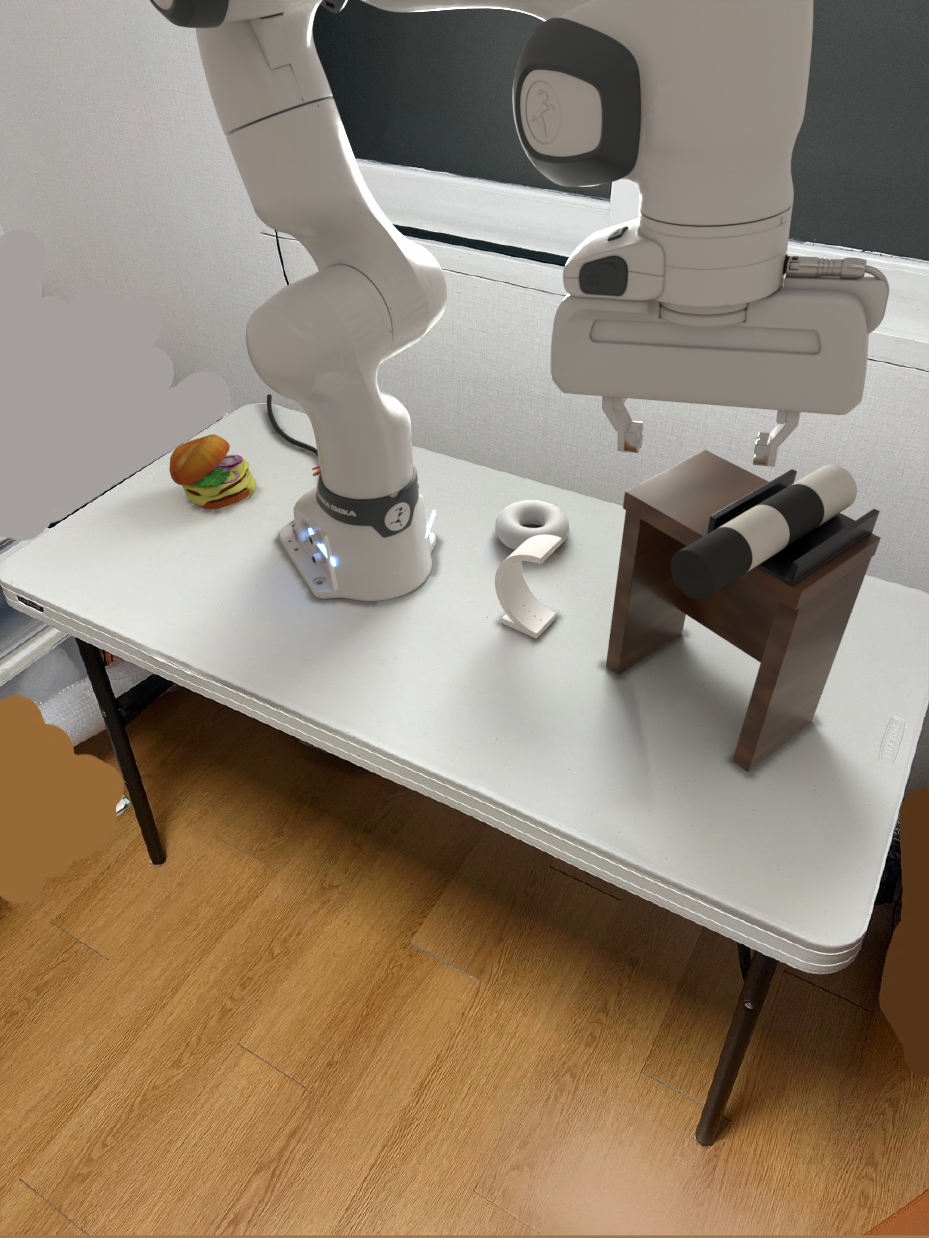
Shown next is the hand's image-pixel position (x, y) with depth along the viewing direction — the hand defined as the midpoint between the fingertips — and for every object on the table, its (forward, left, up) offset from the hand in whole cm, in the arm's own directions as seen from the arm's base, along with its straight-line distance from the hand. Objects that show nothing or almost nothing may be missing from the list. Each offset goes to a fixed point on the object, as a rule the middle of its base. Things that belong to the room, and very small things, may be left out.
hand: (695, 455), depth 63 cm
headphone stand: (-26, +9, -39) cm, 48 cm away
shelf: (-4, +16, -39) cm, 42 cm away
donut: (-38, +21, -39) cm, 58 cm away
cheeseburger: (-75, -7, -39) cm, 85 cm away
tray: (0, +16, -15) cm, 22 cm away
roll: (0, +12, -14) cm, 19 cm away
